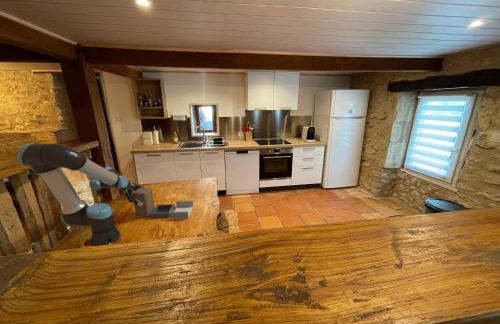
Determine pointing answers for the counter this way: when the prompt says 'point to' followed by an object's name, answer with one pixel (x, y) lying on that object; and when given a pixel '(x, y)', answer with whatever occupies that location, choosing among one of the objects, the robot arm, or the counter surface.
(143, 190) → the wooden block
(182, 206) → the walled bay
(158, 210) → the box
